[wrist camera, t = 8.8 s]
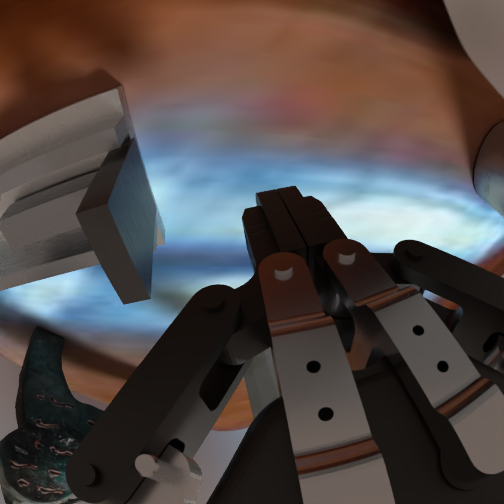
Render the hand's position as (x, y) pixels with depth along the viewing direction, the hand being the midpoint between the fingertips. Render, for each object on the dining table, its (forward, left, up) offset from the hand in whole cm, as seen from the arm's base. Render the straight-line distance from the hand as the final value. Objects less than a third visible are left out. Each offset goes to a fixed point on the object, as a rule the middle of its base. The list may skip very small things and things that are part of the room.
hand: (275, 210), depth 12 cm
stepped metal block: (+10, 0, -6) cm, 12 cm away
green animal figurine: (+18, +18, -8) cm, 27 cm away
